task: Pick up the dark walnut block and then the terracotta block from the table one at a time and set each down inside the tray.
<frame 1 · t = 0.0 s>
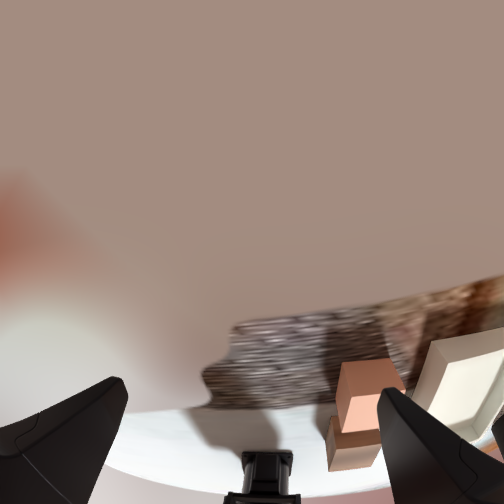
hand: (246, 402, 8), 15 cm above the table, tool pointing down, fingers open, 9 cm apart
tray: (457, 392, 25), on the table
drinking cup: (500, 420, 26), on the table
walnut block: (348, 427, 27), on the table
terracotta block: (362, 378, 25), on the table
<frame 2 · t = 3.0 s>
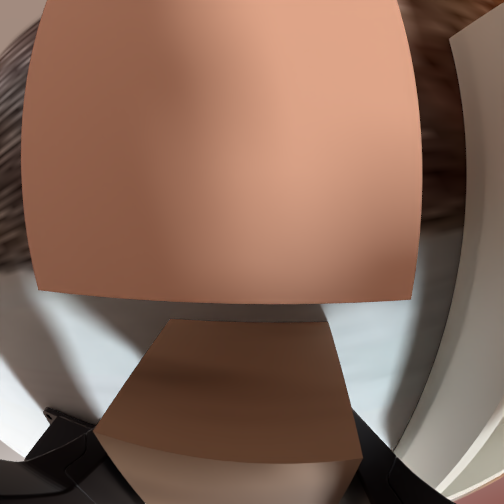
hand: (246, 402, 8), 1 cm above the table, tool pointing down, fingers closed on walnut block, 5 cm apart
walnut block: (249, 382, 9), on the table, touching gripper
terracotta block: (240, 133, 7), on the table
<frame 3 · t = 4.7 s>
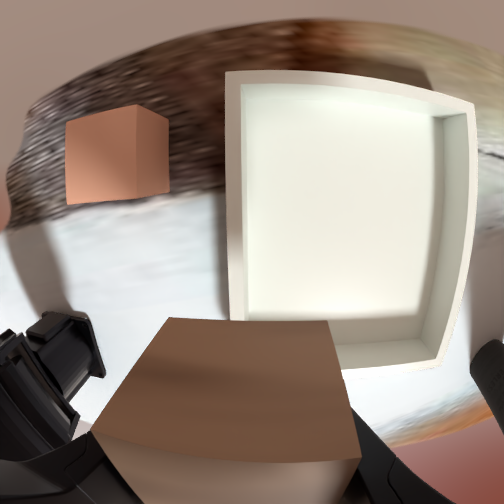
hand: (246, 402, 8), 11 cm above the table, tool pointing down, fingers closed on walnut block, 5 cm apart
tray: (350, 229, 18), on the table
drinking cup: (485, 357, 20), on the table
walnut block: (248, 381, 9), point 10 cm above the table, touching gripper
terracotta block: (136, 158, 18), on the table
when the fingers open (4 cm above the table, at t = 6.8 s): walnut block drops 2 cm, resting on tray.
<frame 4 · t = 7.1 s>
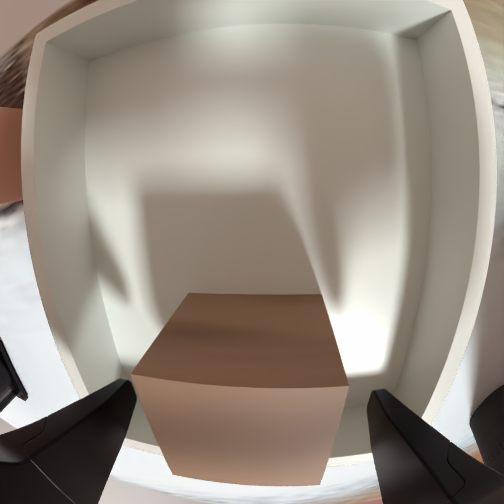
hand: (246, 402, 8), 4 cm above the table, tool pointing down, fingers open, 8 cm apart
tray: (254, 237, 11), on the table
drinking cup: (492, 405, 13), on the table
walnut block: (255, 349, 11), point 1 cm above the table, touching tray
terracotta block: (6, 162, 11), on the table
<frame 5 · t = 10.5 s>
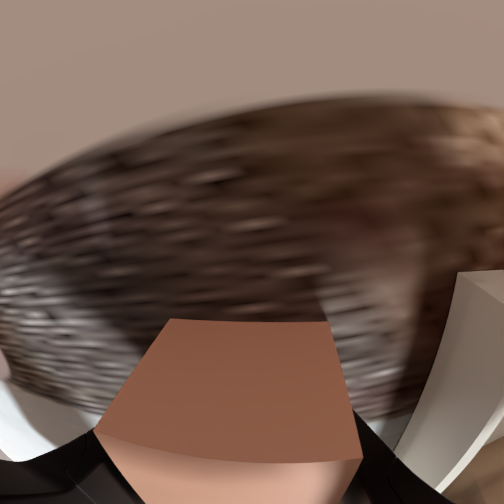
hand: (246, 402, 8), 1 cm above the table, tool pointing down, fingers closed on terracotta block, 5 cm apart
tray: (500, 410, 9), on the table
walnut block: (474, 463, 9), point 1 cm above the table, touching tray
terracotta block: (249, 381, 9), on the table, touching gripper
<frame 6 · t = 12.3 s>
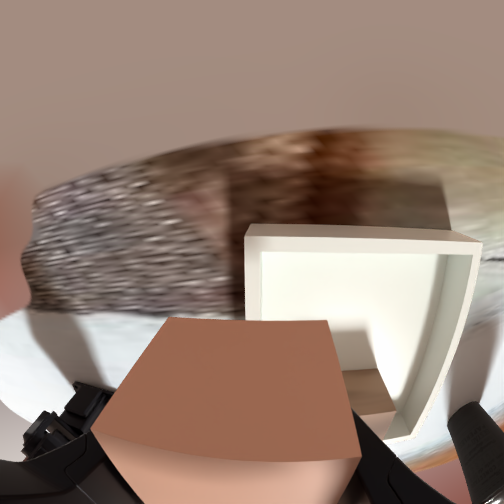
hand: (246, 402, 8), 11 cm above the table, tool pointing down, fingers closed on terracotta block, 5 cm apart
tray: (349, 343, 20), on the table
drinking cup: (462, 415, 22), on the table
walnut block: (342, 393, 20), point 1 cm above the table, touching tray
terracotta block: (248, 380, 9), point 10 cm above the table, touching gripper
when the fingers open (4 cm above the table, at t = 14.4 s): terracotta block drops 2 cm, resting on tray.
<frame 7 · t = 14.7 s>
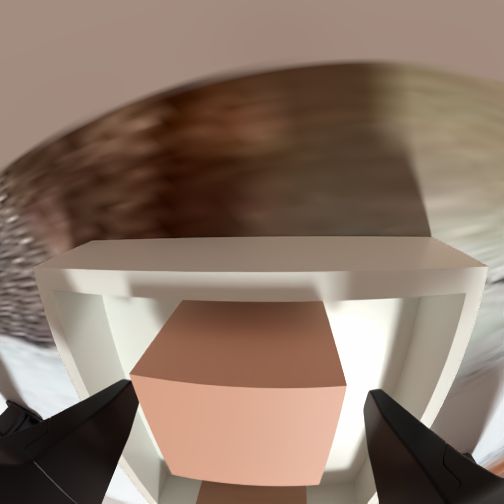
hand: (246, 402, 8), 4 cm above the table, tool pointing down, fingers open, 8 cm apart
tray: (259, 406, 13), on the table
walnut block: (259, 462, 13), point 1 cm above the table, touching tray
terracotta block: (254, 349, 11), point 1 cm above the table, touching tray
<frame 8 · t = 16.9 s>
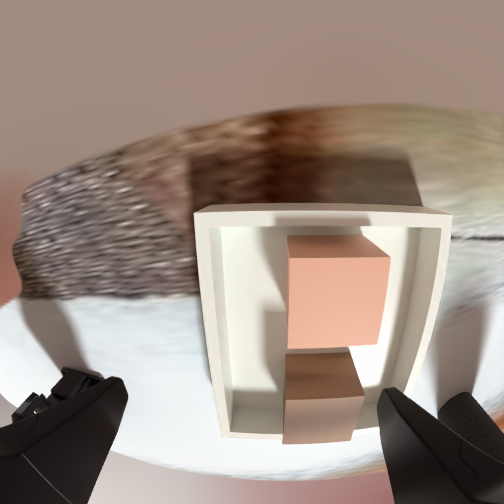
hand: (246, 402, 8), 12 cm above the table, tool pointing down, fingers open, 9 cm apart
tray: (318, 325, 20), on the table
drinking cup: (453, 406, 22), on the table
walnut block: (315, 377, 21), point 1 cm above the table, touching tray
terracotta block: (324, 272, 18), point 1 cm above the table, touching tray
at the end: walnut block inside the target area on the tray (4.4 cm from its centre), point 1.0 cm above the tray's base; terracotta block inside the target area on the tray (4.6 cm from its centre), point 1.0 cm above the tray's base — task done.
